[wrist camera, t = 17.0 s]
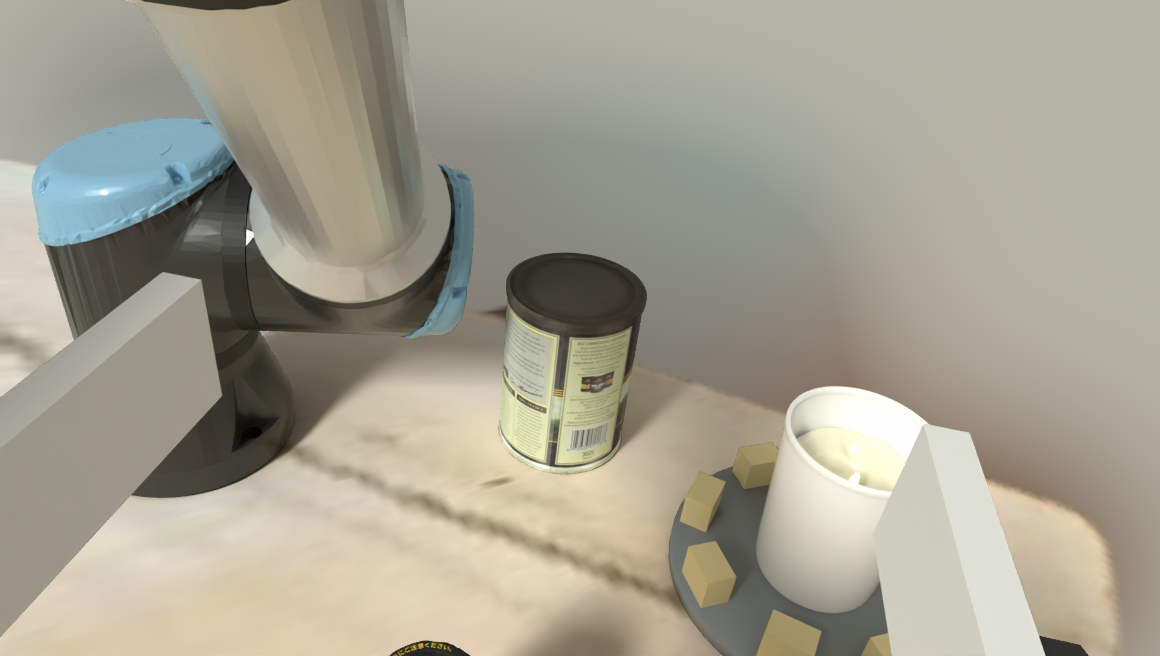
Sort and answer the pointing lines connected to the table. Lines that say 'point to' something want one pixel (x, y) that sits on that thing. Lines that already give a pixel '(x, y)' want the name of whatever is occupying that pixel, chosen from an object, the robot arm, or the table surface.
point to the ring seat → (754, 575)
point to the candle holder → (832, 495)
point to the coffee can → (568, 359)
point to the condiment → (429, 649)
